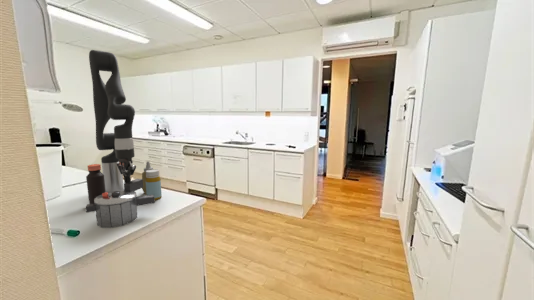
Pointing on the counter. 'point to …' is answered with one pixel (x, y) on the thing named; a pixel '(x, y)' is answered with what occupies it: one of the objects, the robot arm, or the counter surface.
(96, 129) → the robot arm
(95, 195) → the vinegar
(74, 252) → the counter surface
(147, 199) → the pot
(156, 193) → the bottle
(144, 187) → the squeeze bottle
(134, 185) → the lid
